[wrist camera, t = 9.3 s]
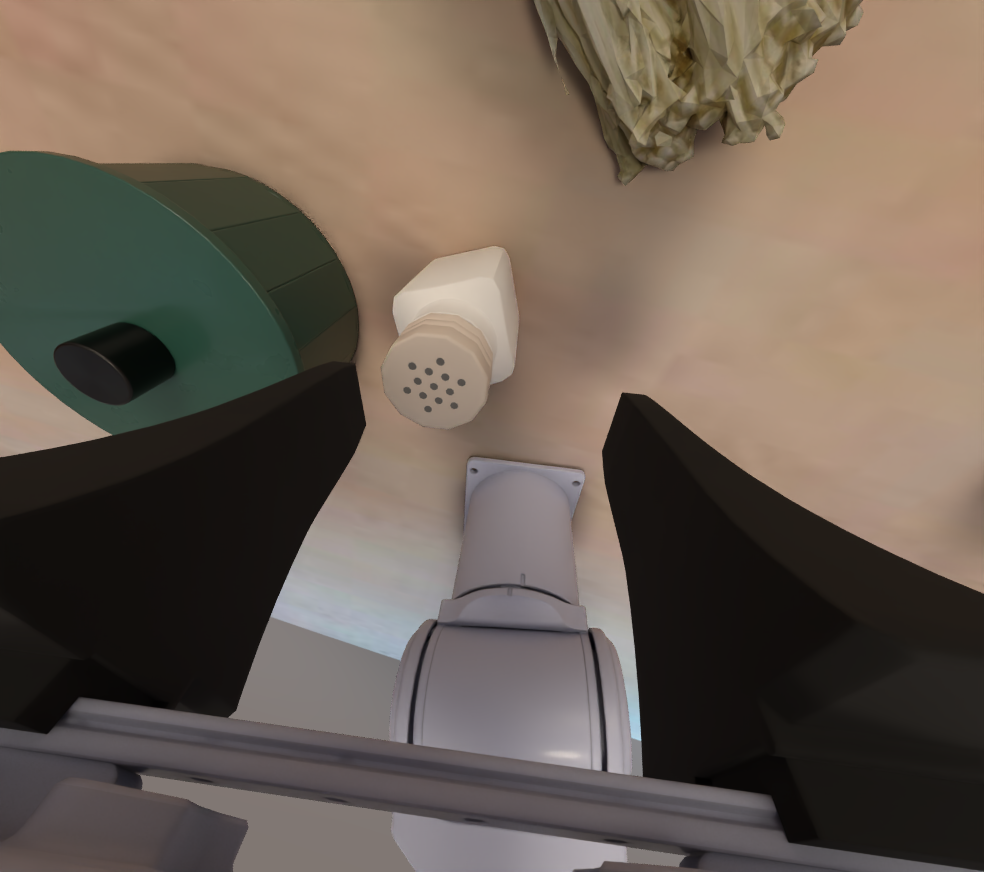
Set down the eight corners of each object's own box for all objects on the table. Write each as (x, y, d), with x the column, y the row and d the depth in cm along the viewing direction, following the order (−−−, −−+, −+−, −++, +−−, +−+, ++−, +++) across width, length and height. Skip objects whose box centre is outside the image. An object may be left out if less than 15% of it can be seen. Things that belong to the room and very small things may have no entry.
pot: (388, 380, 22) (343, 446, 17) (228, 400, 24) (144, 464, 19) (294, 138, 15) (170, 125, 10) (83, 195, 17) (-108, 209, 12)
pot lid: (360, 445, 17) (331, 491, 15) (154, 463, 19) (98, 507, 17) (189, 105, 10) (78, 86, 8) (-104, 196, 12) (-265, 205, 10)
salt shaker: (508, 240, 17) (485, 305, 9) (521, 325, 19) (513, 433, 11) (426, 258, 17) (342, 332, 10) (449, 337, 20) (395, 446, 12)
